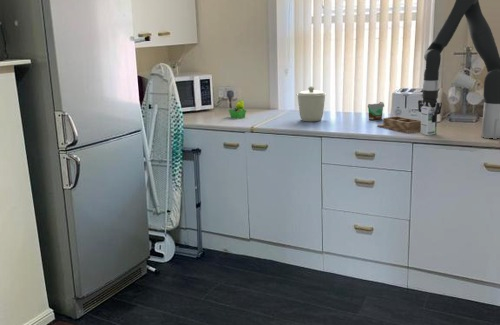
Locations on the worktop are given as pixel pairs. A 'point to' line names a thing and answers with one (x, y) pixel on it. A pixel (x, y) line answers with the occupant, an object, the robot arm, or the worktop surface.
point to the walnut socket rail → (401, 124)
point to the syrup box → (427, 121)
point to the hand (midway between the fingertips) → (428, 121)
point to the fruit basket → (238, 110)
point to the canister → (311, 104)
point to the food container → (375, 111)
